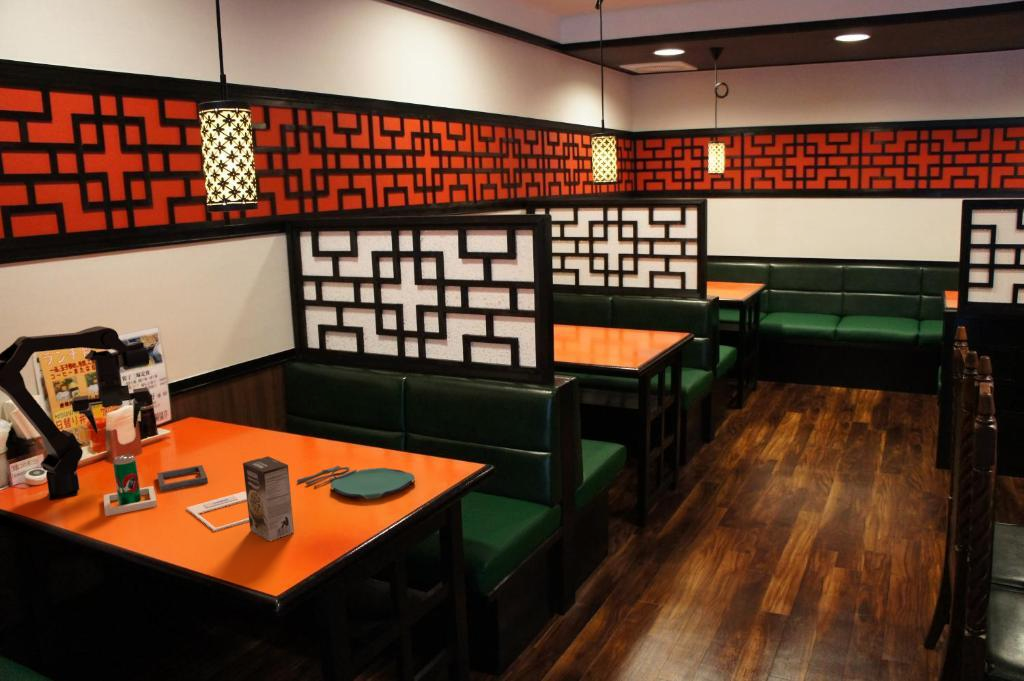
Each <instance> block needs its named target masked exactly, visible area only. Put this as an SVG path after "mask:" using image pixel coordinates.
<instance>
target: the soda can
mask: <svg viewBox="0 0 1024 681" xmlns="http://www.w3.org/2000/svg"><path fill="white" fill-rule="evenodd" d="M112 466H113V472H114V479H115V487H116V493H117V495H118V500H117V501H118V505H119V506H121V505H126V504H131V503H136V502H142V495H140V488H141V487H140V482H139V474H138V468H137V467H138V466H137V459H136V458H135V457H134V454H130V453H129V454H122V455H118V456H116V457H114V461H113V462H112Z"/></svg>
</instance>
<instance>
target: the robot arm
mask: <svg viewBox="0 0 1024 681" xmlns="http://www.w3.org/2000/svg"><path fill="white" fill-rule="evenodd" d="M119 336H120V335H119V333H118V332H117V331H116V330H115V329H114V328H112V327H107V326H101V325H100V326H99V325H97V326H93V327H92V326H91V327H89V328H85V329H82V330H79V331H77V332H70V333H69V332H67V333H57V334H44V335H34V336H26V335H22V336H19V337H18V338H16V340H15V341H13V343H12V344H10V345H9V346H8V347H6V348H5V349H4V350H3V351H2V352H0V391H1V392H2V393H3V394H5V395H6V396H7V397H8V398H9V399H10V400H11V401H12V402H13V404H14V405H15V406H16V408H17V409H18V410H19V411H20V413H21V414H22V415H23V416H24V417H25V419H27V421H28V422H29V424H30V425H31V426H32V427H33V429H34V430H35V431H36V433H38V434H39V435H40V437H41V439H42V441H43V444H44V447H45V449H46V451H47V455H46V456H44V459H43V460H41V462H40V466H41V468H42V469H43V470H44V471H46V474H45V478H46V484H47V490H48V500H55V499H60V498H67V497H72V496H76V495H78V494H79V490H80V479H79V474H78V472H77V470H78V465H79V462H80V461H81V459H82V458H83V454H84V451H83V449H82V447H81V446H83V444H82V443H80V442H79V441H78V440H77V437H76V435H75V434H74V432H70V431H68V430H66V429H62V430H60V429H59V428H58V426H57V425H56V424H55V423H54V421H53V420H52V419H51V417H50V416H49V415H48V414H47V413H46V411H45V410H44V409H43V407H42V406H41V405H40V404H39V402H38V401H37V400H36V398H34V397H33V395H32V394H31V392H30V391H29V389H27V386H26V384H25V379H24V377H23V375H22V373H21V372H22V370H23V369H24V368H25V367H26V365H27V364H28V362H29V361H30V359H31V357H32V355H33V354H35V353H38V352H39V353H40V352H49V351H58V350H59V351H61V350H72V349H81V348H82V349H91V350H90V351H89V352H88V354H87V355H85V356H84V359H85V360H88V361H94V370H95V376H96V382H97V393H98V397H91V398H89V395H87V394H86V395H81V396H79V395H78V396H75V397H73V398H72V399H71V408H72V409H71V410H72V412H73V413H75V412H78V413H79V415H84V416H85V417H86V419H87V420H88V421H89V423H90V424H91V426H92V429H93V431H94V432H95V434H99V431H98V426H97V421H96V418H95V415H94V411H93V408H92V406H97V405H101V406H102V408H105V409H106V408H110V407H115V406H116V407H120V406H122V405H123V403H124V402H126V401H132V407H133V408H132V416H133V417H132V423H133V428H134V429H136V428H137V423H138V418H139V414H140V411H141V409H142V406H145V405H147V403H148V402H150V401H152V399H151V397H152V396H151V392H150V389H149V388H148V387H140V388H133V389H132V392H130V389H129V384H127V385H126V384H125V385H123V384H122V377H121V368H122V369H123V370H124V371H128V370H133V369H138V368H142V367H147V366H148V365H149V364H150V358H151V357H150V355H149V353H148V349H147V348H146V347H145V344H144V342H142V341H137V342H133V343H131V344H130V343H129V344H125V342H124V341H122V340H121V339H120V337H119ZM96 350H101V351H96ZM110 350H113V351H114V352H110Z"/></svg>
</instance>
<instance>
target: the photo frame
mask: <svg viewBox="0 0 1024 681" xmlns="http://www.w3.org/2000/svg"><path fill="white" fill-rule="evenodd" d="M244 502H247V496H246V490H245V491H241V492H237V493H234V494H230V495H226V496H222V497H220V498H215V499H213V500H209V501H205V502H201V503H198V504H195V505H191V506H187V507H185V508H186V511H187V512H189V513H190V512H191V513H192V514H191V513H190V514H191V515H193V514H194V515H195V516H196V517H197V518H196V517H195V516H194V515H193V516H194V517H195V518H196V519H198V518H199V519H200V520H201V521H202V523H203V522H204V523H205V524H206V525H207V527H208V528H209V527H210V528H211V529H212V530H211V529H210V528H209V529H210V530H211V531H213V530H214V531H216V530H219V531H221V530H220V529H222V530H224V529H223V528H225V529H227V528H226V527H229V528H231V527H230V526H232V527H235V526H238V524H239V525H241V524H245V523H248V522H249V517H247V518H244V519H242V520H237V521H234V522H231V523H227V524H225V525H221V526H217V527H215V526H214V525H213V524H212V523H210V522H209V521H208V520H207V519H205V518H204V517H202V516H201V514H200V513H203V514H205V513H204V512H206V513H208V512H207V511H210V512H212V511H211V510H213V511H215V510H214V509H217V510H219V509H218V508H220V509H223V508H222V507H224V508H226V507H225V506H227V507H230V506H233V504H234V505H236V503H237V504H240V503H244ZM229 505H230V506H229ZM199 519H198V520H199ZM200 520H199V521H200ZM201 521H200V522H201ZM204 523H203V524H204ZM205 524H204V525H205ZM206 525H205V526H206ZM234 525H235V526H234ZM214 531H213V532H214ZM216 532H217V531H216Z"/></svg>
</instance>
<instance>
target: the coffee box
mask: <svg viewBox="0 0 1024 681" xmlns="http://www.w3.org/2000/svg"><path fill="white" fill-rule="evenodd" d="M242 467H243V468H242V469H243V475H244V484H245V485H244V486H245V492H246V496H247V501H246V504H247V513H248V518H249V521H248V522H249V528H250V532H252V533H253V534H255V535H257V536H259V537H261V538H262V539H264V540H266V541H267V540H268V542H269V541H271V540H274V539H276V540H278V539H277V538H279V539H281V538H280V537H282V538H284V537H283V536H285V537H287V536H286V535H288V536H290V535H292V534H291V533H293V534H295V529H294V518H293V507H292V494H291V493H292V492H291V482H290V473H289V472H290V471H289V465H288V464H287V463H284V462H282V461H280V460H277V459H276V458H274V457H271V456H263V457H261V458H255V459H251V460H248V461H245V462H242ZM289 534H290V535H289ZM274 541H275V540H274ZM271 542H272V541H271Z"/></svg>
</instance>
